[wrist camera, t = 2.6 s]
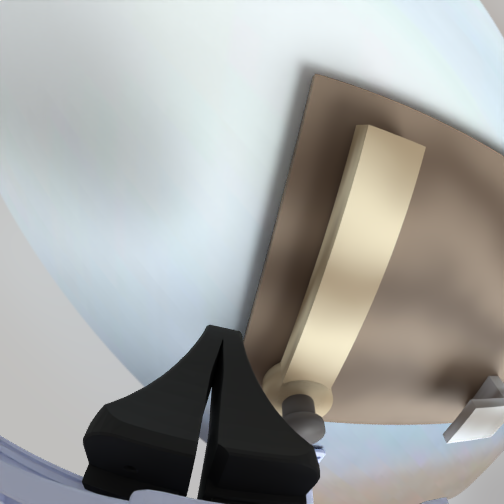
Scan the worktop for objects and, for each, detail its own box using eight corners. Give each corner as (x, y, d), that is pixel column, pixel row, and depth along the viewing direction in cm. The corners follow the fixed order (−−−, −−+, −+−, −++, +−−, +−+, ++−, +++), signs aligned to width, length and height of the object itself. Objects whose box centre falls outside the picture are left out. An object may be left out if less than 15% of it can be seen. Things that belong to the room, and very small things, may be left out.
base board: (472, 414, 24) (491, 448, 19) (226, 398, 23) (220, 450, 18) (576, 211, 16) (614, 230, 11) (312, 76, 15) (332, 56, 10)
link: (315, 406, 21) (322, 456, 17) (255, 398, 21) (253, 449, 17) (418, 148, 15) (465, 157, 10) (342, 120, 14) (371, 117, 10)
